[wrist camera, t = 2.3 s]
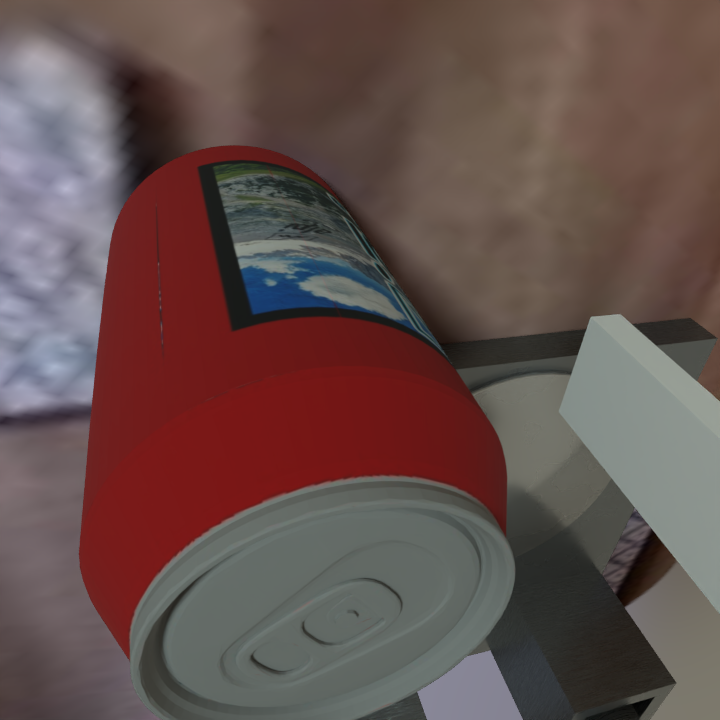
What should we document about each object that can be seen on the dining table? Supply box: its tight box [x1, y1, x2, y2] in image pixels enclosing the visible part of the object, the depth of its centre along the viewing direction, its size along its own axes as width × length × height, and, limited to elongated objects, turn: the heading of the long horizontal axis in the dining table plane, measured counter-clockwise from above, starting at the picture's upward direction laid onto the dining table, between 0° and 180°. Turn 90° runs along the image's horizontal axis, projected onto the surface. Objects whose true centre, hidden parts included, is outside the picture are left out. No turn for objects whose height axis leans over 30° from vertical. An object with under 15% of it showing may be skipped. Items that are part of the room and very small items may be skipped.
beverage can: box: [79, 145, 516, 720], centre depth 13 cm, size 7×7×12 cm
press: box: [356, 318, 718, 720], centre depth 24 cm, size 14×20×10 cm
